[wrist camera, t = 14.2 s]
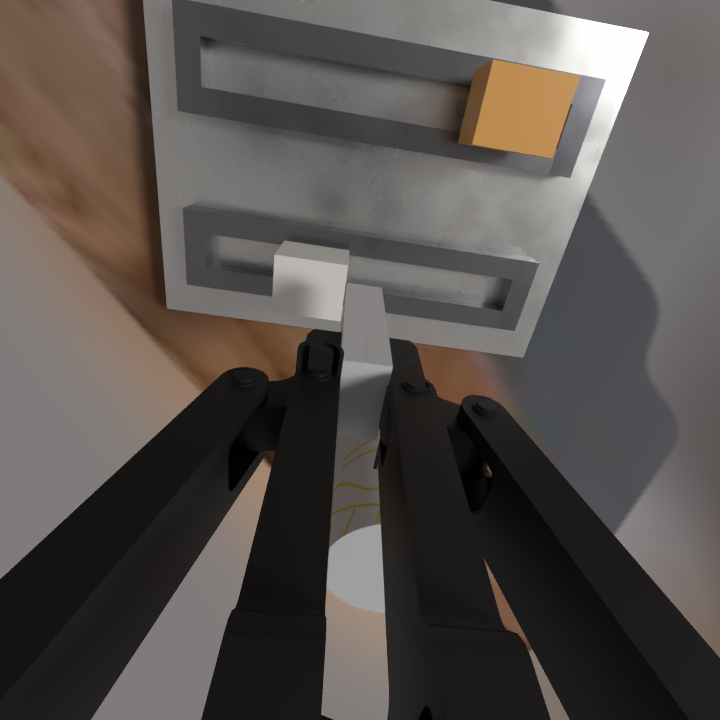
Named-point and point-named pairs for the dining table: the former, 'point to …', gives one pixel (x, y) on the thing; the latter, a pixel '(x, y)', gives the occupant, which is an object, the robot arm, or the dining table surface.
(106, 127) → the dining table surface
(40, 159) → the dining table surface
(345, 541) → the cup
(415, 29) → the console
